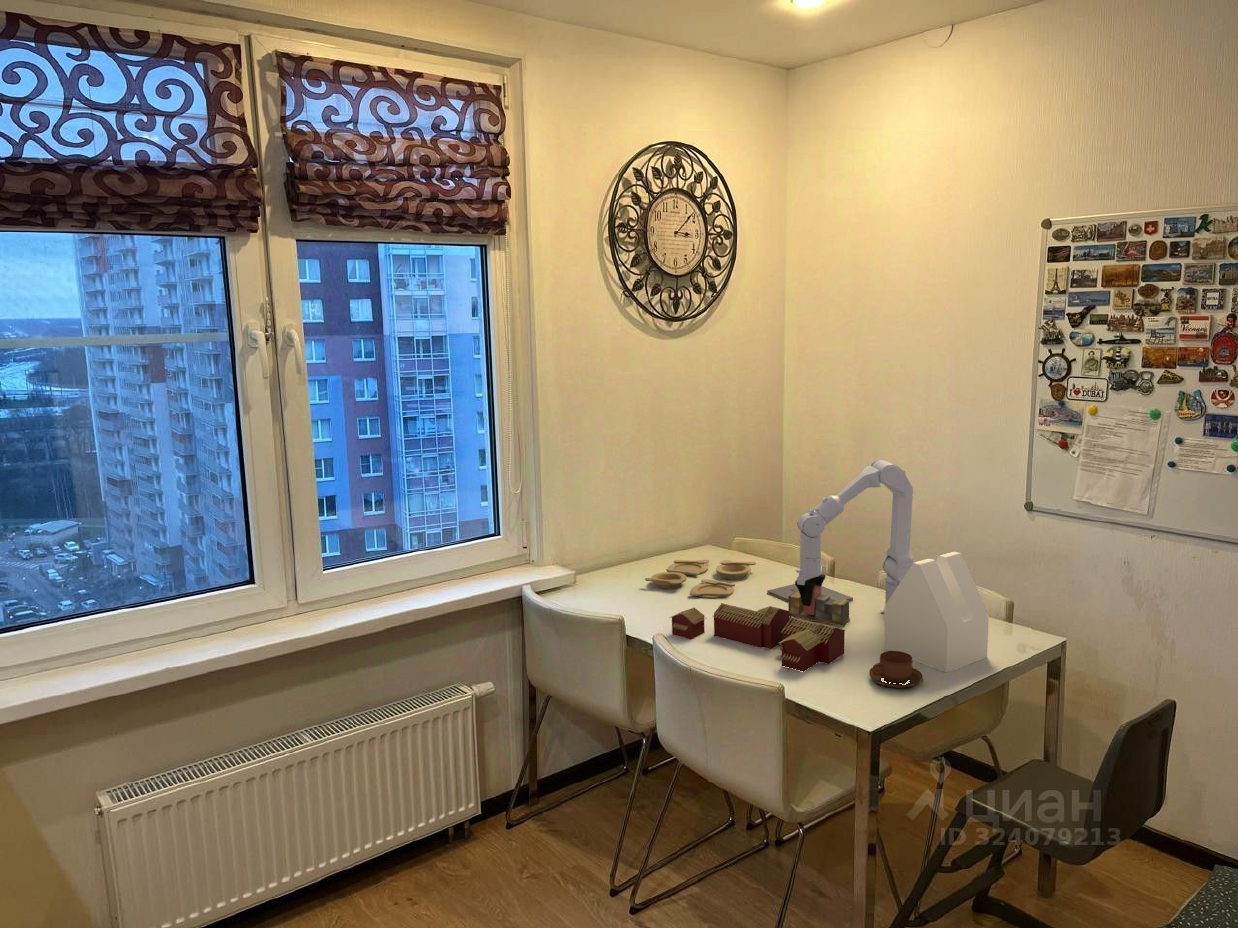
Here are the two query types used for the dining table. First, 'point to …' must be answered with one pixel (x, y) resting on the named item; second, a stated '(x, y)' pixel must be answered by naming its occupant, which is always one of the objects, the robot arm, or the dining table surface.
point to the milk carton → (938, 615)
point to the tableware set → (710, 587)
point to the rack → (821, 609)
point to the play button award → (788, 590)
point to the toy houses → (768, 633)
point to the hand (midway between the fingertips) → (810, 602)
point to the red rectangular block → (813, 601)
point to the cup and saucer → (895, 670)
